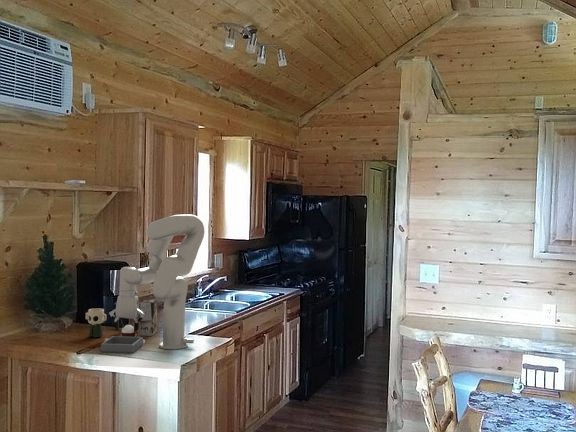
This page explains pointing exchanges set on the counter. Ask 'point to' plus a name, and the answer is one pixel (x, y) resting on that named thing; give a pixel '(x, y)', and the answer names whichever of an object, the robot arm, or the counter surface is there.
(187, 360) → the counter surface
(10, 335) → the counter surface
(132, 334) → the cocoa
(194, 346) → the counter surface
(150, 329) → the coffee box
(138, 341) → the tray
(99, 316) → the big headed toy figurine
